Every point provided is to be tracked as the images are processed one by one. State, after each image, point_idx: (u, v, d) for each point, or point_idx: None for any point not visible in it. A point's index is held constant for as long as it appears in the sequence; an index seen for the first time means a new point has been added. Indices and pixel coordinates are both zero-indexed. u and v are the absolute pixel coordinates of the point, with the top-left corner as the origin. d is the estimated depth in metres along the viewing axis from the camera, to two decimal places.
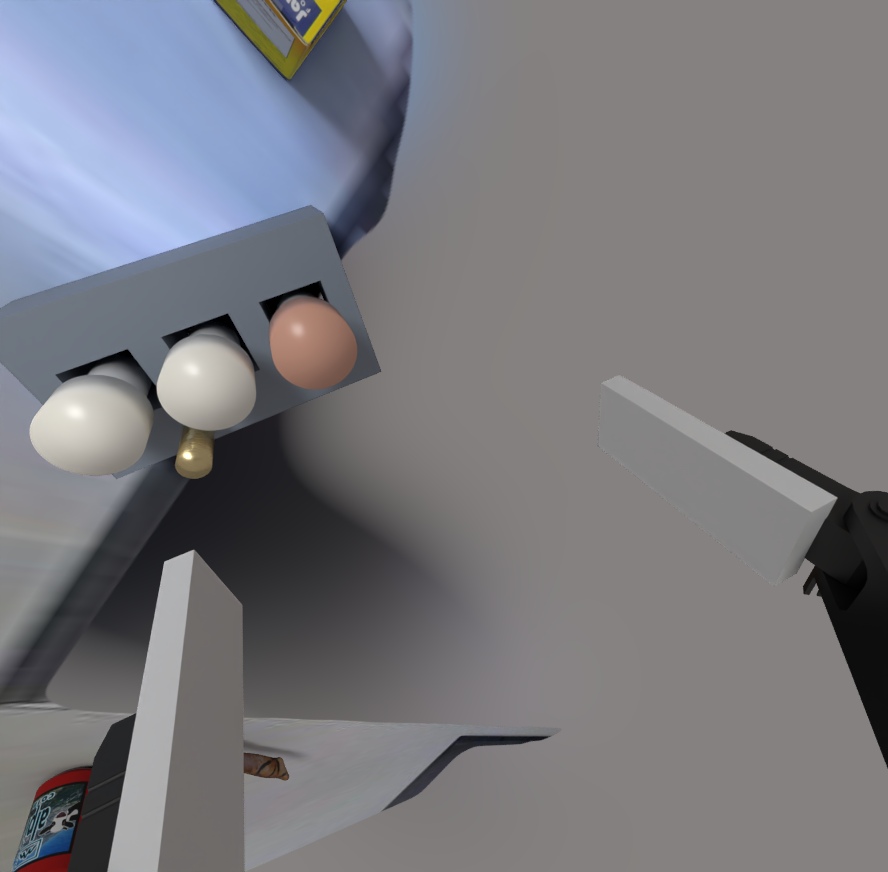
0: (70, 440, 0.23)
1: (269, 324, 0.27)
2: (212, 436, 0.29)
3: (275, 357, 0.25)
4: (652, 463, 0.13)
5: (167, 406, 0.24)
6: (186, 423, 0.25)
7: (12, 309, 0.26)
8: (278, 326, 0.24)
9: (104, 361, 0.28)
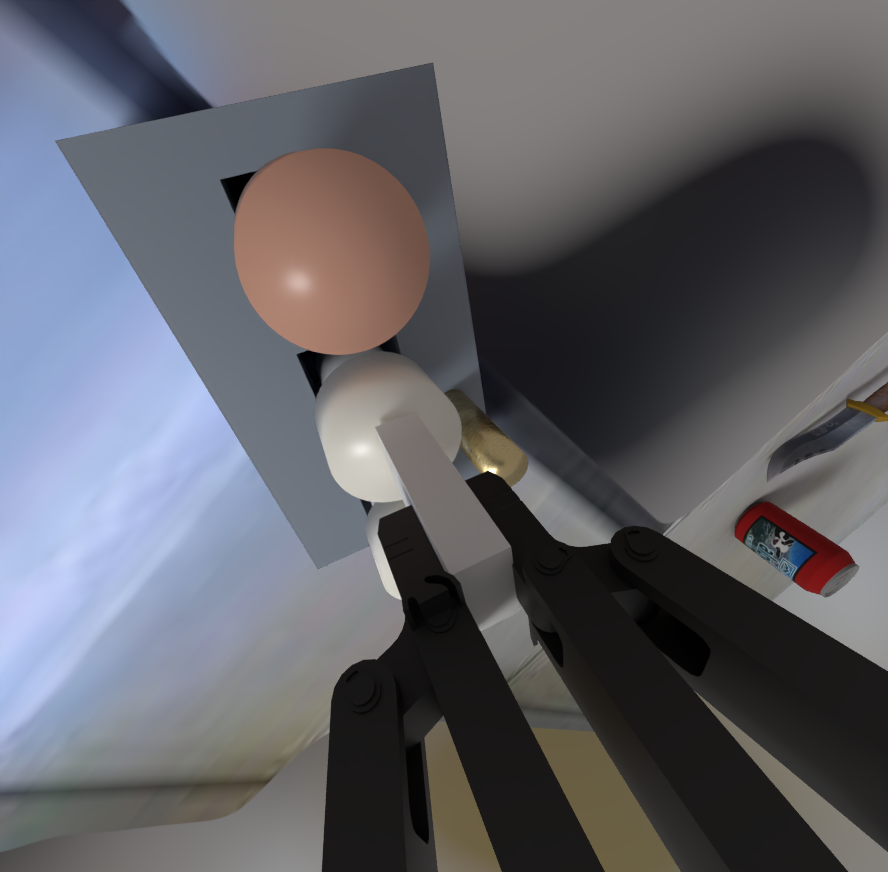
0: None
1: None
2: (476, 418, 0.20)
3: (347, 348, 0.12)
4: None
5: None
6: None
7: None
8: (281, 334, 0.12)
9: None
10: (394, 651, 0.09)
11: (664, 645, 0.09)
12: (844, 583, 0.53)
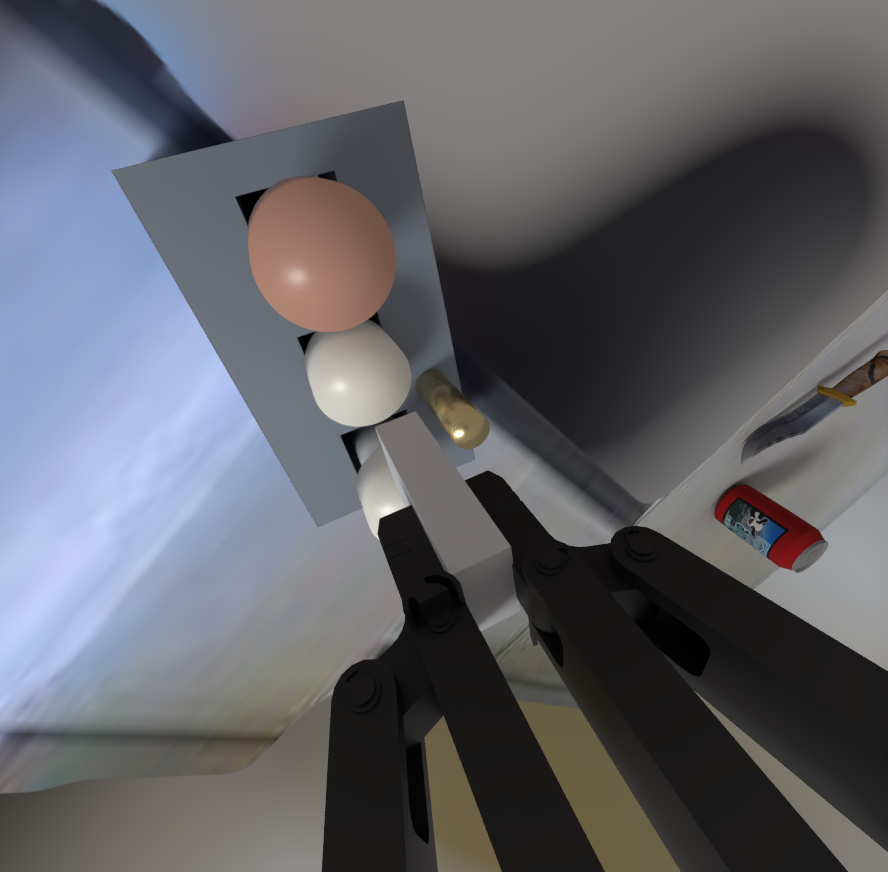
0: None
1: None
2: (448, 391, 0.23)
3: (334, 327, 0.16)
4: None
5: (374, 420, 0.22)
6: (397, 406, 0.23)
7: None
8: None
9: None
10: (394, 651, 0.09)
11: (664, 645, 0.09)
12: (815, 559, 0.56)
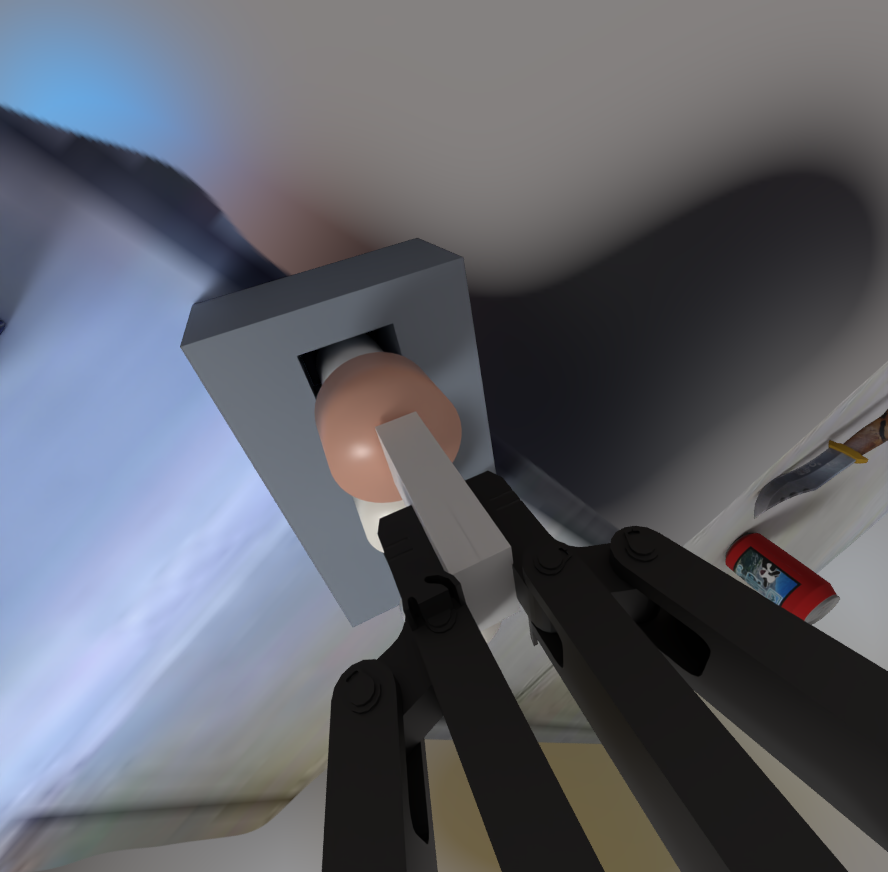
0: None
1: None
2: None
3: (399, 497, 0.16)
4: None
5: None
6: None
7: None
8: None
9: None
10: (394, 651, 0.09)
11: (664, 645, 0.09)
12: (826, 612, 0.56)
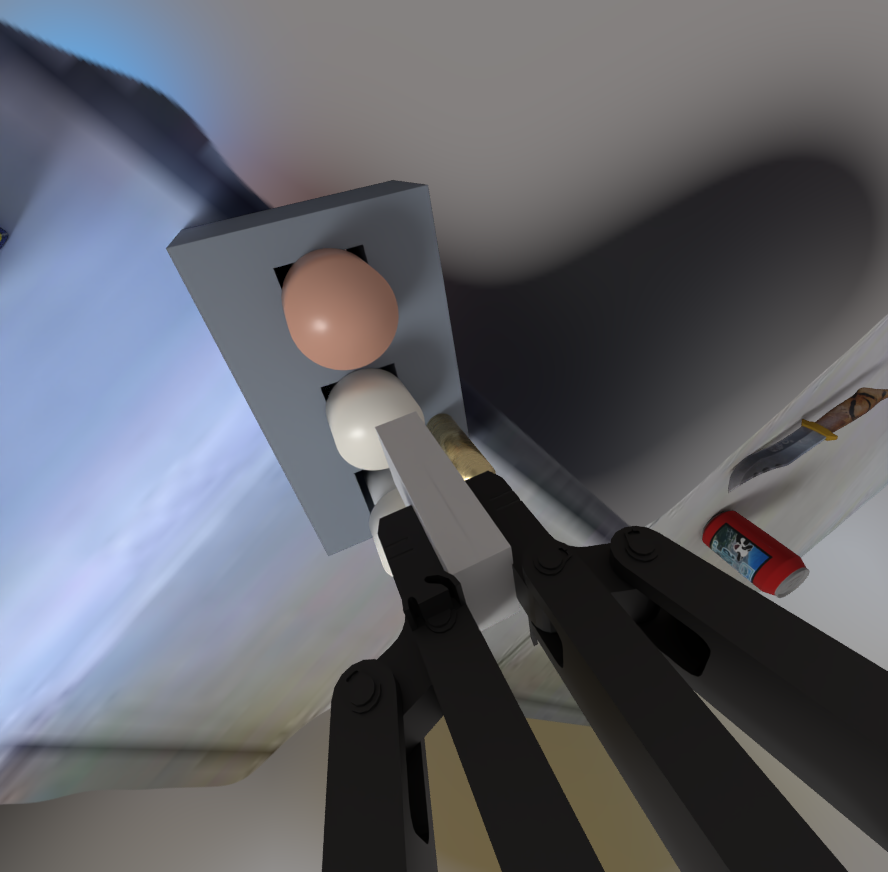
0: None
1: None
2: (457, 438, 0.25)
3: (348, 366, 0.20)
4: None
5: None
6: None
7: None
8: None
9: (366, 483, 0.30)
10: (394, 651, 0.09)
11: (664, 645, 0.09)
12: (797, 585, 0.58)
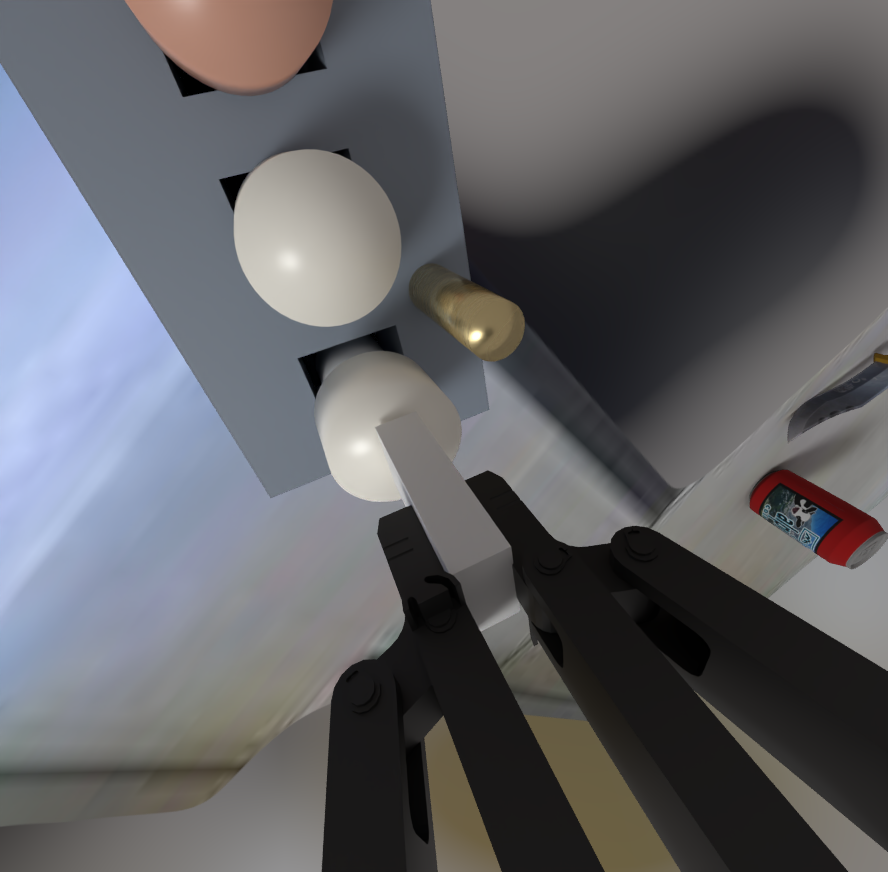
0: None
1: None
2: (457, 280, 0.15)
3: (241, 72, 0.10)
4: None
5: (343, 317, 0.14)
6: (379, 298, 0.14)
7: None
8: (153, 33, 0.10)
9: (319, 377, 0.20)
10: (394, 651, 0.09)
11: (664, 645, 0.09)
12: (871, 554, 0.48)
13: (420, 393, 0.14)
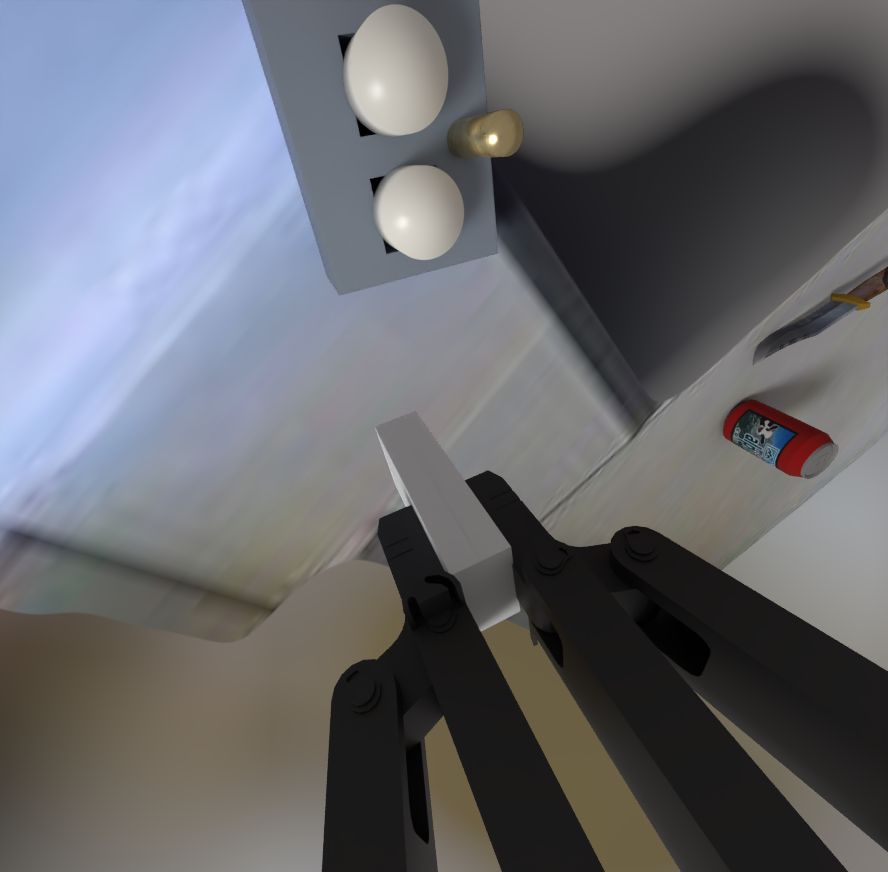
0: (423, 231, 0.26)
1: None
2: (481, 114, 0.23)
3: None
4: None
5: (408, 128, 0.23)
6: (431, 118, 0.23)
7: (328, 266, 0.29)
8: None
9: None
10: (394, 651, 0.09)
11: (664, 645, 0.09)
12: (824, 467, 0.55)
13: (440, 177, 0.24)
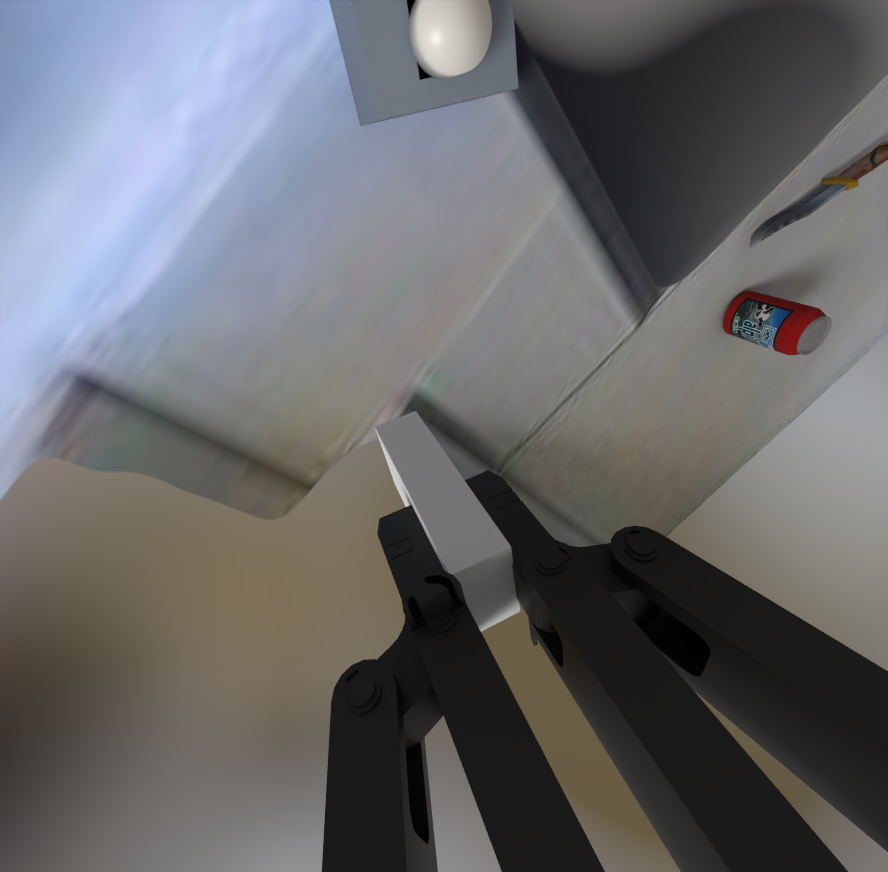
0: (456, 42, 0.29)
1: None
2: None
3: None
4: None
5: None
6: None
7: (366, 97, 0.32)
8: None
9: None
10: (394, 651, 0.09)
11: (664, 645, 0.09)
12: (819, 343, 0.59)
13: None
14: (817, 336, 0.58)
